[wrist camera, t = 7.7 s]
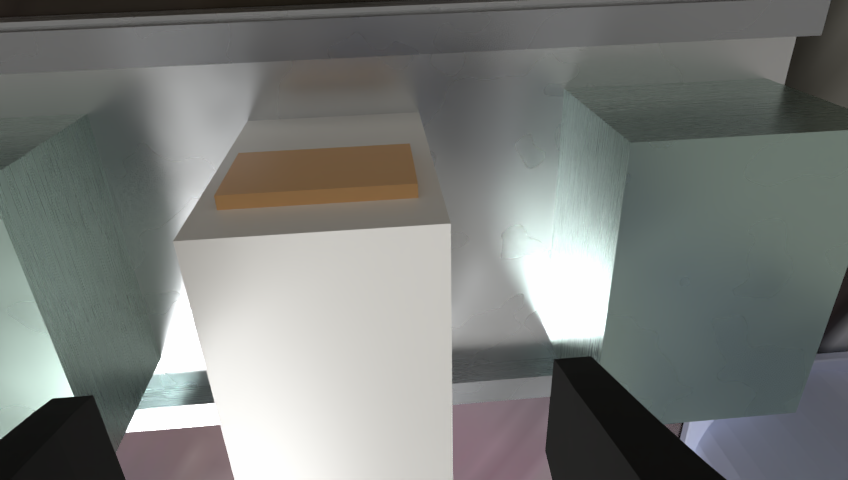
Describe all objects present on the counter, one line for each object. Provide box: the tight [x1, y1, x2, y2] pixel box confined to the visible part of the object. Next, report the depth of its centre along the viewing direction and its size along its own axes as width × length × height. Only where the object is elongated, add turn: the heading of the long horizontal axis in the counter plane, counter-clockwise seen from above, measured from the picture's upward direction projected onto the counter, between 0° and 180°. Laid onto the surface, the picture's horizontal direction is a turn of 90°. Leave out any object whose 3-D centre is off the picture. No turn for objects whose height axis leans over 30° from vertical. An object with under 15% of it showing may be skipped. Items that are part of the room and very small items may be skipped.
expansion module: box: [173, 112, 453, 480], centre depth 13 cm, size 4×7×6 cm, turn 2°
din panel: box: [0, 0, 848, 453], centre depth 14 cm, size 22×11×5 cm, turn 92°
